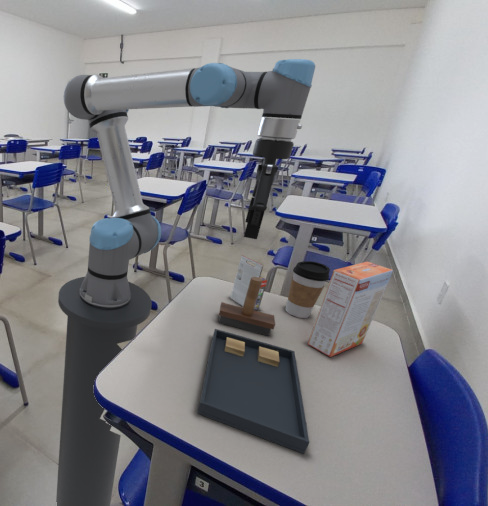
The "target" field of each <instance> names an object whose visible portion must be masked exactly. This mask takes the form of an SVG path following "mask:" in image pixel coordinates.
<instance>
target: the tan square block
mask: <svg viewBox="0 0 488 506" xmlns="http://www.w3.org/2000/svg"><path fill="white" fill-rule="evenodd" d="M225 351H226V352H229V353H232V354H236V355H239V356H242V357H243V355H244V352H245V342H242V341H239V340H235V339H232V338H228V337H227V338H226V342H225Z"/></svg>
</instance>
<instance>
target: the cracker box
mask: <svg viewBox="0 0 488 506" xmlns="http://www.w3.org/2000/svg"><path fill="white" fill-rule="evenodd" d="M393 272H394V269H392V268H389V267H385V266H382V265H379V264H377V263H373V262H371V261H364V262H360V263H356V264H352V265H348V266H344V267H341V268H340V267H339V268H336V269H333V271H332V274H331V277H330V280H329V283H328V285H327V287H326V291H325V294H324V297H323V299H322V303H321V306H320V308H319V311H318V314H317V316H316V320H315V322H314V325H313V327H312V331H311V334H310V337H309V339H308V342H307V345H308V346H310V347H312V348H313V349H315V350H317V351H318V352H321V353H322V354H324V355H326V356H327V357H329V358H332V357H334V356H336V355H339V354H341V353H344V352H346V351H348V350H350V349H353V348H355V347H357V346H360V345H362V344H363V343H364V340H365V338H366V335H367V333H368V331H369V328H370V326H371V324H372V322H373V319H374V317H375V314H376V312H377V310H378V307H379V305H380V303H381V300H382V298H383V295H384V294H385V291H386V289H387V286H388V284H389V282H390V279H391V277H392V275H393Z"/></svg>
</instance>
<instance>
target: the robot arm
mask: <svg viewBox="0 0 488 506" xmlns="http://www.w3.org/2000/svg"><path fill="white" fill-rule="evenodd" d="M315 70H316V63H315V62H314V61H312V60H310V59H302V58H289V59H280V60H278V61H276V62H275V64H274V67H273V68H272V70H268V71H244V70H241V69H238V68H235V67H232V66H230V65H228V64H225V63H223V62H209V63H205V64H204V65H202V66H200V67H191V68H183V69H181V68H180V69H174V70H164V71H155V72H146V73H138V74H137V73H136V74H130V75H120V76H119V75H118V76H111V77H110V76H109V77H103V76H102V75H100V74H79V75H76V76H73V78H71V79H70V80H69V81H68V83H67V84H66V85H65V88H64V90H63V104H64V106H65V109H66V110H67V112H68V113H69V114H70V115H71V116H72V117H74V118H76V119H79V120H86V121H88V124H89V128H90V131H91V132H92V133H94V134H95V135H96V136H97V140H98V144H99V148H100V152H101V156H102V161H103V164H104V168H105V173H106V177H107V181H108V185H109V189H110V193H111V197H112V201H113V205H114V210H115V211H114V213H113V214H112V217H111V218H109V217H106V218H102V219H99V220H97V221H95V222H94V223H93V224H92V226H91V228H90V229H91V230H90V234H89V248H88V250H89V251H88V261H87V272H86V274H85V276H84V277H85V278H84V280H83V283H82V285H81V288H80V298H81V299H82V301H83V302H85V303H86V304H88V305H90V306H92V307H95V308H99V309H108V310H112V309H119V308H122V307H125V306H126V305H128V304H129V302H130V297H131V293H130V288H129V283H128V282H129V279H128V271H129V265H130V264H129V263H130V260H132V259H135V258H136V257H139V256H141V255H144V254H146V253H149V252H150V251H152V250H153V249H154V248H155V247H157V246H158V244H159V243H160V241H161V238H162V226H161V224H160V222H159V220H158V218H155V216H154V215H152V214H151V210H150V207H149V206H147V205H146V204H144V202H143V197H142V193H141V189H140V185H139V180H138V176H137V172H136V169H135V164H134V160H133V156H132V150H131V147H130V142H129V138H128V135H127V129H126V124H127V123H128V121H129V116H128V113H129V111H130V110H143V109H145V110H146V109H165V108H166V109H167V108H168V109H169V108H189V107H191V108H192V107H193V108H195V107H196V108H197V107H214V108H215V107H216V108H221V109H250V110H251V109H252V110H253V109H255V110H263V111H262V114H261V117H260V121H259V125H258V130H257V133H256V136H257V137H259V138H257V139H256V140H255V143H254V146H253V150H252V155H253V156H254V157H257V158H262V159H261V163H258V164H257V168H256V175H255V185H254V188H253V190H252V197H251V199H250V202H249V205H248V208H247V214H246V218H245V223H246V225H245V231H244V234H243V238H246V239H252V240H258V237H259V233H260V229H261V225H262V223H263V219H264V215H265V212H266V210H267V209H268V202H269V198H270V193H271V190H272V186H273V185H274V182H275V178H276V176H277V174H278V170H279V167H278V165H277V164H276V162H277V160H289V159H290V158H291V155H292V152H293V148H294V145H295V143H294V141H292V140H294V139H296V137H297V135H298V130H301V129H303V124H300V123H301V119H302V118H303V117H302V116H303V113H304V110H305V107H306V103H307V100H308V97H309V94H310V91H311V88H312V86H313V85H312V83H313V80H314V79H313V78H314V75H315Z"/></svg>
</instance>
